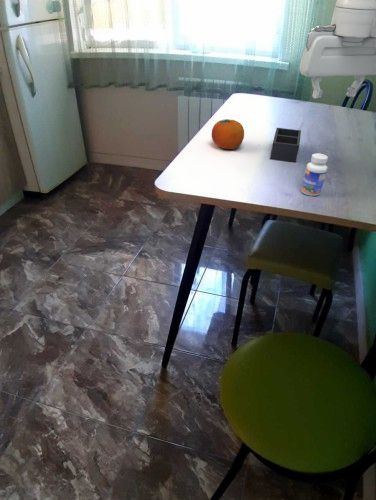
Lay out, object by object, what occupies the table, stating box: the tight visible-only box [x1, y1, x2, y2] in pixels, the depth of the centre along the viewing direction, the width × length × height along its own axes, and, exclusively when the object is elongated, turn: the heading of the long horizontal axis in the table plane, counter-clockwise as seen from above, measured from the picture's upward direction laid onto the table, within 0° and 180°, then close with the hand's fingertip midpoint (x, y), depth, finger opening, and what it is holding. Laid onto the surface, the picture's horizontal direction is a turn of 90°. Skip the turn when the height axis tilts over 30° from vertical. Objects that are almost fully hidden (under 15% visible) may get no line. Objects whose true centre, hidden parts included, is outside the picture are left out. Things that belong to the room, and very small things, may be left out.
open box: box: [269, 127, 302, 164], centre depth 133 cm, size 8×15×5 cm, turn 167°
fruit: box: [211, 118, 245, 150], centre depth 133 cm, size 11×10×8 cm
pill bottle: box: [300, 152, 329, 197], centre depth 109 cm, size 5×5×10 cm
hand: (333, 97), depth 98 cm, fingers open, 8 cm apart
